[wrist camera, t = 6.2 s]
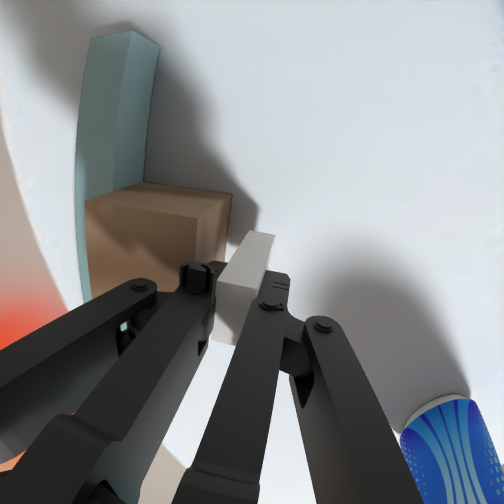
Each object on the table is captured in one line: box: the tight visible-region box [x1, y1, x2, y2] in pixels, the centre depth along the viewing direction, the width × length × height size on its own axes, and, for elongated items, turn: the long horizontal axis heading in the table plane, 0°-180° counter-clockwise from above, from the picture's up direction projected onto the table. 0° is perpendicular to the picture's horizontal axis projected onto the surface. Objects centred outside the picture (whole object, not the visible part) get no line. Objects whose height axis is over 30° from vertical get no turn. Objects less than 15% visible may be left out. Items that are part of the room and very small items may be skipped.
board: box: [75, 30, 160, 331], centre depth 18 cm, size 24×3×4 cm, turn 172°
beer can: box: [400, 394, 504, 504], centre depth 14 cm, size 8×8×16 cm
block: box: [84, 182, 232, 299], centre depth 16 cm, size 6×6×6 cm
